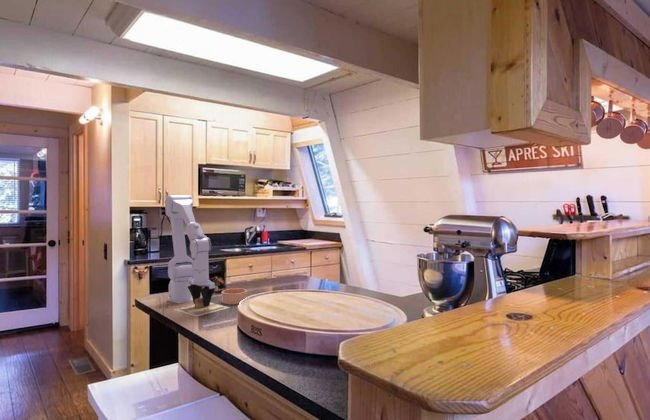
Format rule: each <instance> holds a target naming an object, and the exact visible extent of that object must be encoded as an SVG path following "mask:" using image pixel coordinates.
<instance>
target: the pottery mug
mask: <svg viewBox="0 0 650 420" xmlns="http://www.w3.org/2000/svg"><path fill="white" fill-rule="evenodd" d="M209 280H210V281H211V282H213V283H215V287H217V288H218V290H222V291H223V290H227V289H228V288H227V285H226V282H225V280H224V278H223V277H220V276H219V277H218V276H214V277H211V278H209ZM203 288H205V287H203Z"/></svg>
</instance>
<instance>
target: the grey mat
mask: <svg viewBox="0 0 650 420" xmlns="http://www.w3.org/2000/svg"><path fill="white" fill-rule="evenodd" d="M216 304H217V303H216ZM217 305H219V303H218V304H217ZM220 305H221V304H220ZM221 306H224V305H221ZM179 308H180V307H177V308H174V309H173V311H176V312H179V313H183V314H186V315H190V316H191V317H192V316H193V317H200V316H203V315H208V314H211V313H215V312H219V311H222V310H223V311H224V310H226V309H230V306H229V307H228V306H224V308H222V309H218V310H214V311H210V312H207V313H203V314H199V315H196V314H193V313H189V312H186V311H183V310H179Z"/></svg>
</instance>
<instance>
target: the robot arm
mask: <svg viewBox="0 0 650 420" xmlns="http://www.w3.org/2000/svg"><path fill="white" fill-rule="evenodd" d="M164 207H165V208H164V209H165V214H166V216H167V217H169V220H170V227H171V237H172V246H173V255H174V256H173V258H171V259H170V260H169V261H168V265H167V266H168V267H167V275H168V279H170V281H169V283H168V299H166V300H167V302H172V303H176V304H182V303H183V304H184V303H187V302H193V304H195V299H197V298H202V297H203V305H204V307H206V306H209V305H210V303H211V301H212V297H213V294H214V292H215V291H216V286H215V283H213V282H211V281H210V275H209V274H210V272H209V270H210V268H209V266H210V264H209V263H210V261H209V253H210V252H211V250H212V242H211V239H210V237H209V236H208V237H207V235H205V234H204V231H203V229H202V226H201V224H200V223H198V222H196V218H195V216H194V212H193V207H194V199H193V197H192V195H191V194H185V195H184V194H181V195H180V194H176V195H175V194H174V195H173V194H172V195H171V194H168V195H167V196H166V197H165V201H164ZM184 223H185V225H186V226H184ZM184 227H185V229H184ZM185 231H186V234H187V237H188V240H189V250H190V256H191V257H190V256H189V255H188V254H187V253H188V252H187V244H186V237H185V236H186V234H185ZM204 287H205V288H204ZM201 296H202V297H201Z"/></svg>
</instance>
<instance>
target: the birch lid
mask: <svg viewBox="0 0 650 420" xmlns="http://www.w3.org/2000/svg"><path fill="white" fill-rule="evenodd" d="M178 308H179V310H183V311H186V312H189V313H193V314H196V315H199V314H203V313H207V312H210V311H214V310H218V309H222V308H224V305H222V306H221V304H218V305H217V303H214V302H210V305H209V306H206V307H204V305H203V297H200V298H197V299H195V304H194V303H193V304H189V305H185V306H181V307H178Z"/></svg>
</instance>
